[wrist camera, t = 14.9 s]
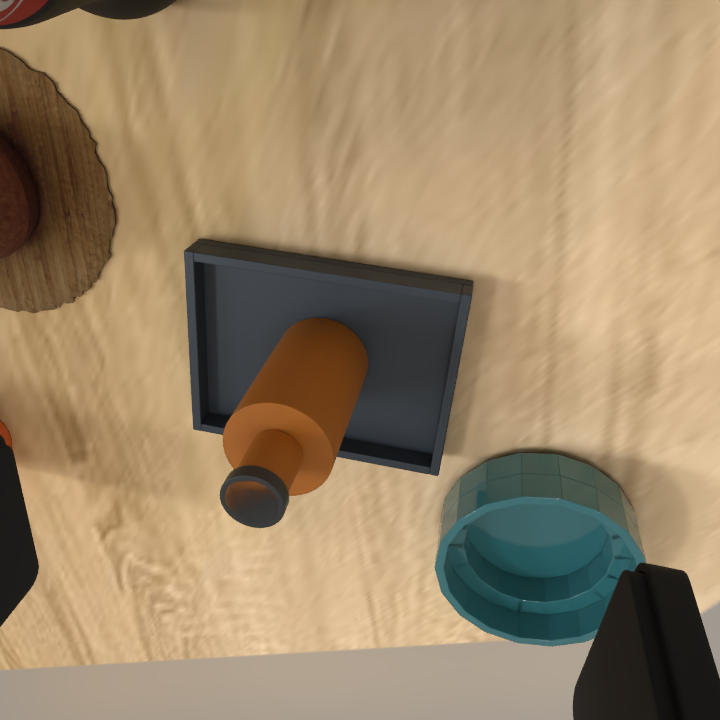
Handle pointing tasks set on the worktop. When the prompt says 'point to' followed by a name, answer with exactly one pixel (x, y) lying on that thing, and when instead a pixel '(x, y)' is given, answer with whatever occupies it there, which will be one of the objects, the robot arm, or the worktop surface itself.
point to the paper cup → (5, 434)
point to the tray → (347, 306)
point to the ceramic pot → (47, 195)
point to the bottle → (292, 420)
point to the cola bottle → (39, 3)
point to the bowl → (535, 547)
